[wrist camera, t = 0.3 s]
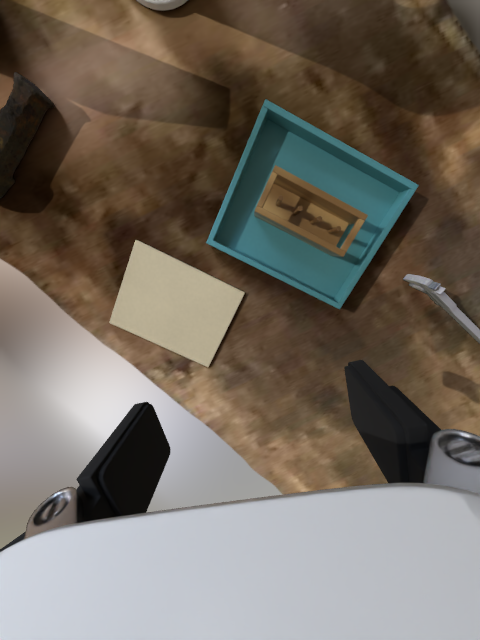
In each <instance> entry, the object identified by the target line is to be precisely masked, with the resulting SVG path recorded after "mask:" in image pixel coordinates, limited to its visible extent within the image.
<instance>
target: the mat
mask: <svg viewBox="0 0 480 640" xmlns="http://www.w3.org/2000/svg"><path fill="white" fill-rule="evenodd" d="M244 294H245V292H243V291H241V290H239V289H237V288H235V287H233V286H231V285H229V284H227V283H224V282H222V281H220V280H218V279H216V278H214V277H212V276H210V275H208V274H206V273H204V272H202V271H200V270H198V269H196V268H194V267H192V266H189V265H187V264H185V263H183V262H181V261H179V260H177V259H175V258H173V257H171V256H169V255H167V254H165V253H163V252H161V251H159V250H157V249H155V248H152V247H150V246H148V245H146V244H144V243H142V242H140V241H138V240H135V244H134V247H133V250H132V253H131V256H130V259H129V262H128V266H127V269H126V272H125V275H124V278H123V281H122V285H121V288H120V291H119V294H118V297H117V300H116V303H115V307H114V310H113V313H112V316H111V319H110V322H109V323H111V324H113V325H115V326H118V327H120V328H122V329H124V330H127V331H129V332H131V333H133V334H135V335H138V336H140V337H142V338H144V339H146V340H149V341H151V342H153V343H155V344H157V345H160V346H162V347H164V348H166V349H169V350H171V351H173V352H175V353H177V354H180V355H182V356H184V357H186V358H188V359H191V360H193V361H195V362H197V363H200V364H202V365H204V366H206V367H209V365H210V363H211V361H212V359H213V357H214V355H215V353H216V351H217V349H218V347H219V345H220V343H221V341H222V339H223V337H224V335H225V332H226V330H227V328H228V326H229V324H230V322H231V320H232V318H233V316H234V314H235V312H236V310H237V308H238V306H239V304H240V302H241V300H242V298H243V296H244Z"/></svg>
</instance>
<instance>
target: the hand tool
mask: <svg viewBox="0 0 480 640" xmlns="http://www.w3.org/2000/svg"><path fill="white" fill-rule="evenodd" d="M50 107H51V108H55V105H54V103H53V102H52V101H51V100H50V99H49V98H48V97H47V96H46V95H45V94H44V93H43V92H42V91H41V90H40V89H39V88H38V87H37V86H36V85H35V84H33V83H32V82H30V81H29V80H28V79H26V78H25V77H23V76H22V75H20V74H18V73H16V72H15V73H14V84H13V90H12V92H11V94H10V96H9V99H8V100H7V103H6V105H5V106H4V107H3V108H2V109H0V199H1V198H2V197H3V196H4V195H5V194H6V192H7V191H8V189H9V188H10V187H11V186H12V185H13V184H14V183H15V180H14V178H13V174H14V171H15V169H16V167H17V166H18V165H19V163H20V161H21V159H22V158H23V157H24V154H25V151H26V149H27V147H28V145H29V143H30V141H31V139H32V138H33V137H34V135H35V133H36V132H37V129H38V126H39V125H40V123H41V120H42V118H43V116H44V114H45V112H46V111H47V109H48V108H50Z"/></svg>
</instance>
